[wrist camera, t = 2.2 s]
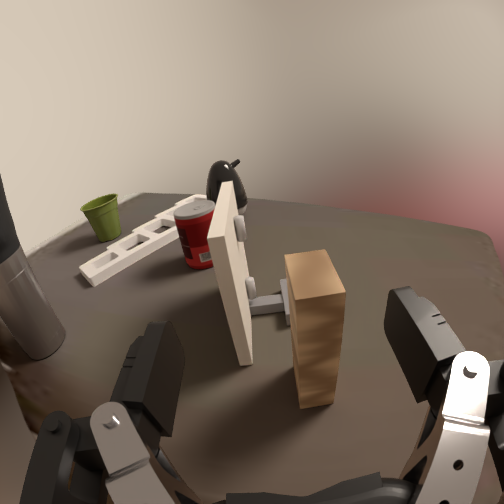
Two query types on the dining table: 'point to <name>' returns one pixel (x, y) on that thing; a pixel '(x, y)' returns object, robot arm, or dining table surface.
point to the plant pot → (103, 216)
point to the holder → (117, 254)
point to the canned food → (195, 232)
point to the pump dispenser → (225, 173)
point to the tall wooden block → (315, 325)
